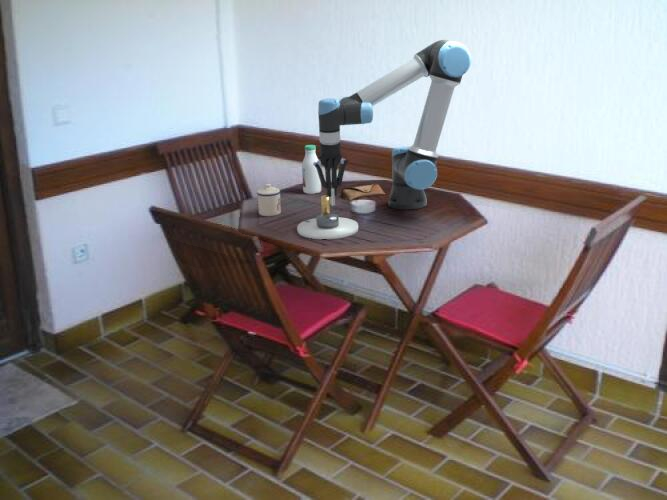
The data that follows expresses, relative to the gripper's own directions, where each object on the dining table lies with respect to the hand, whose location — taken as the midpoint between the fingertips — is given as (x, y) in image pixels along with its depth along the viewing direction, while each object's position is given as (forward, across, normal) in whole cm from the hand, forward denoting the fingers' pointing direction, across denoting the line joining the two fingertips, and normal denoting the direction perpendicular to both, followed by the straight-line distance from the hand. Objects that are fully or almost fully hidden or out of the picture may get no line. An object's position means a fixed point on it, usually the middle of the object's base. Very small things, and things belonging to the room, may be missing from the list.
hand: (332, 204), depth 290 cm
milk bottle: (+8, -6, -43) cm, 44 cm away
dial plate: (+6, +6, +10) cm, 13 cm away
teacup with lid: (+7, +19, -21) cm, 29 cm away
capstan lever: (+4, +5, +7) cm, 9 cm away
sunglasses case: (+8, -24, -27) cm, 37 cm away
